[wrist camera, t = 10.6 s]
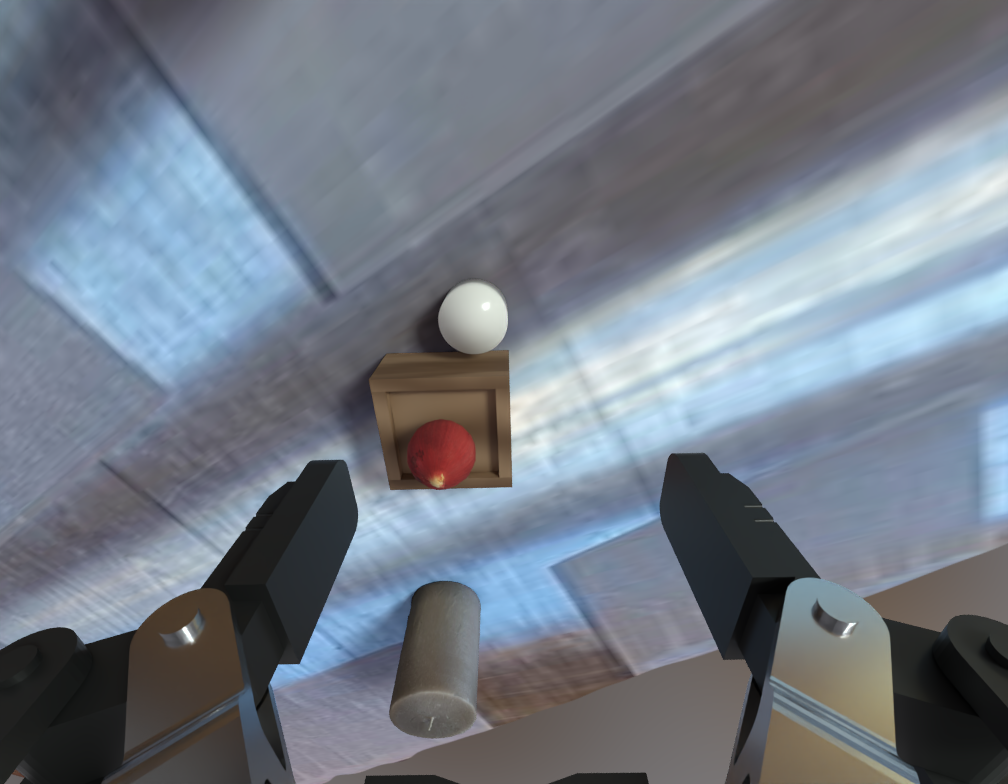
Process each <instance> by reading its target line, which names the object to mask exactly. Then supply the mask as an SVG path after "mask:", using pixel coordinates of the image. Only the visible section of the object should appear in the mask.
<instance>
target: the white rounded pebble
mask: <svg viewBox="0 0 1008 784" xmlns="http://www.w3.org/2000/svg"><path fill="white" fill-rule="evenodd" d="M438 323H439V328H440V331H441V334H442V336H443V337H444V339H445V340H446V341H447V343H448V344H449V345H450V346H452V347H453V348H455V349H456V350H458V351H460V352H463V353H467V354H481V353H485V352H488V351H490V350H492V349H493V348H495V347H496V346H497V345H498V344H499V343H500V342H501V341H502V339H503V338H504V336H505V333H506V330H507V325H508V313H507V304H506V300H505V298H504V296H503V294H502V293H501V291H500V290H499V289H498V288H497V287H496V286H495V285H493V284H492V283H490V282H488V281H485V280H482V279H467V280H464V281H461V282H459V283H457V284H456V285H455V286H453V287H452V288H451V290H450V291H449V292H448V294H447V296H446V298H445V300H444V302H443V304H442V306H441V308H440V311H439V316H438Z"/></svg>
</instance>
